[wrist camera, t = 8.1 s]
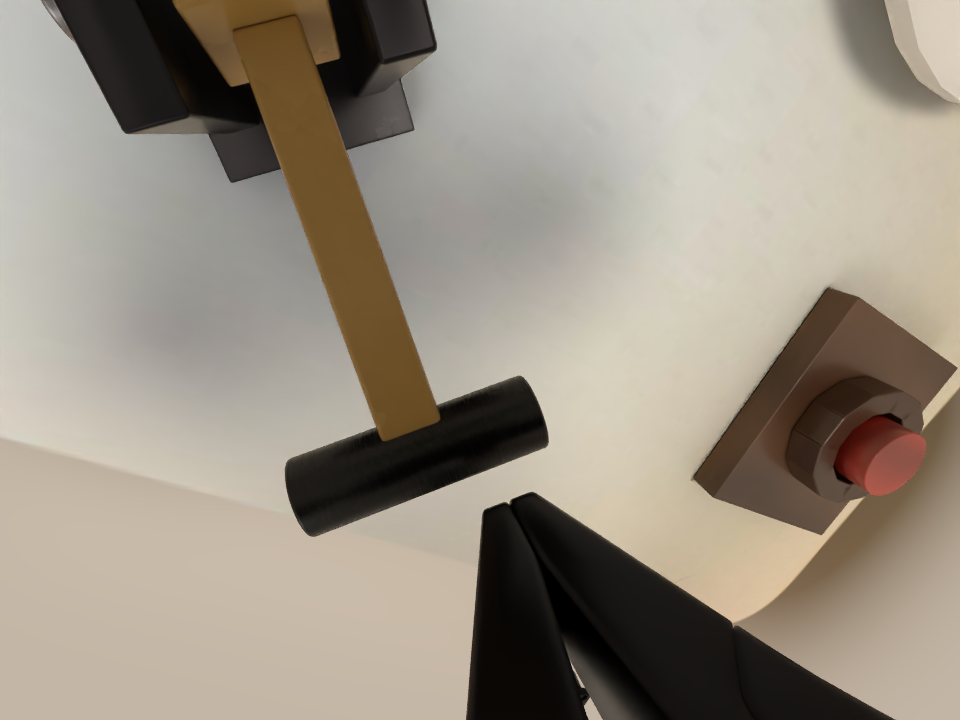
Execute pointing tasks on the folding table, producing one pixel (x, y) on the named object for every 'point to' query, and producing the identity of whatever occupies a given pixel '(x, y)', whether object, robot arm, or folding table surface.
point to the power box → (821, 412)
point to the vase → (929, 42)
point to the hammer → (355, 284)
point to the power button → (880, 455)
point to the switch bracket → (234, 110)
